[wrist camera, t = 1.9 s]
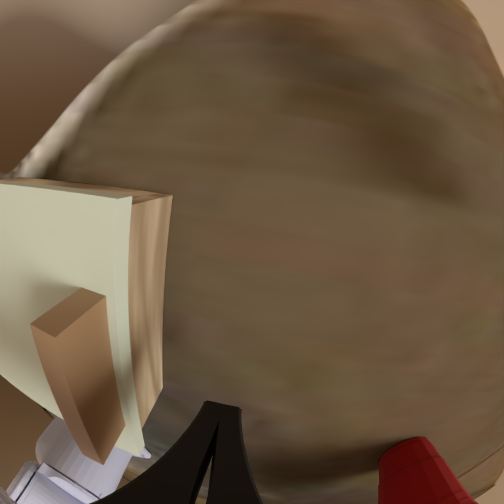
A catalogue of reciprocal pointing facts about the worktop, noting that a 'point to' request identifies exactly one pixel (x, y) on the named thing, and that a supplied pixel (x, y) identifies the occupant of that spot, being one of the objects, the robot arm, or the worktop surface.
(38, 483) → the robot arm
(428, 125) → the worktop surface
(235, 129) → the worktop surface
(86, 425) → the lid
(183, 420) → the worktop surface
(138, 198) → the storage box
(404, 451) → the plastic cup
